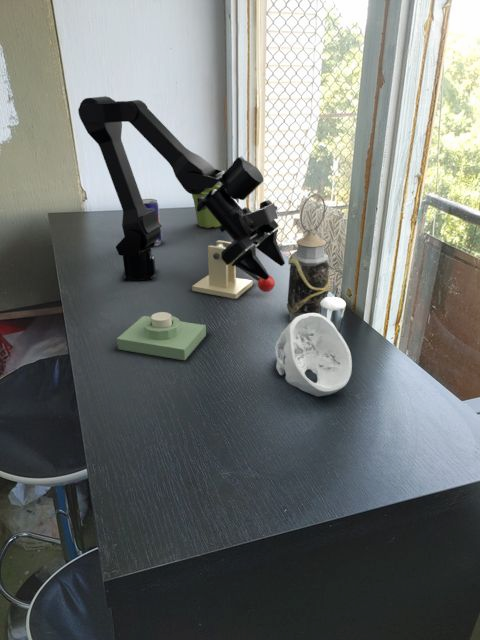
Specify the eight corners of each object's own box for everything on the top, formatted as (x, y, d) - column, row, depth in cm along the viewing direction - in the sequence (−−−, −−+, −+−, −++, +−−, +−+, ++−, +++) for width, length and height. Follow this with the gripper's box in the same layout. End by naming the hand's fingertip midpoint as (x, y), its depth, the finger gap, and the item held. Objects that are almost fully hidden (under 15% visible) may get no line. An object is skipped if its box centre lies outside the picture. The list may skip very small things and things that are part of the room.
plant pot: (227, 231, 160) (226, 193, 154) (188, 230, 160) (186, 192, 154) (230, 220, 170) (229, 185, 165) (193, 219, 170) (192, 184, 165)
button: (148, 327, 94) (147, 318, 93) (157, 319, 97) (156, 310, 96) (166, 330, 93) (166, 321, 92) (175, 322, 96) (174, 313, 95)
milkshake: (344, 338, 99) (349, 289, 95) (338, 350, 95) (344, 300, 90) (321, 334, 101) (325, 285, 96) (314, 346, 96) (318, 296, 91)
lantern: (305, 307, 112) (313, 187, 99) (335, 319, 107) (347, 194, 94) (277, 319, 106) (282, 193, 94) (307, 332, 101) (316, 202, 89)
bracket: (252, 285, 122) (252, 242, 117) (236, 299, 115) (235, 254, 110) (210, 277, 126) (209, 235, 120) (192, 290, 118) (189, 246, 113)
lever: (272, 291, 118) (280, 278, 115) (265, 297, 114) (273, 284, 112) (217, 253, 119) (224, 239, 116) (209, 258, 116) (216, 244, 113)
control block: (118, 349, 94) (115, 329, 92) (144, 325, 102) (142, 307, 100) (184, 360, 91) (183, 340, 89) (206, 335, 99) (205, 316, 97)
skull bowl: (305, 340, 95) (330, 302, 85) (338, 409, 89) (369, 376, 79) (253, 352, 91) (273, 312, 80) (284, 424, 85) (310, 392, 75)
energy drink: (157, 247, 145) (153, 203, 139) (139, 246, 146) (134, 202, 140) (164, 241, 149) (161, 199, 143) (146, 240, 150) (142, 198, 144)
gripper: (234, 199, 99) (286, 263, 101) (271, 181, 114) (316, 237, 116) (199, 234, 105) (249, 294, 107) (238, 213, 120) (281, 266, 122)
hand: (275, 271), depth 113 cm, fingers open, 9 cm apart
